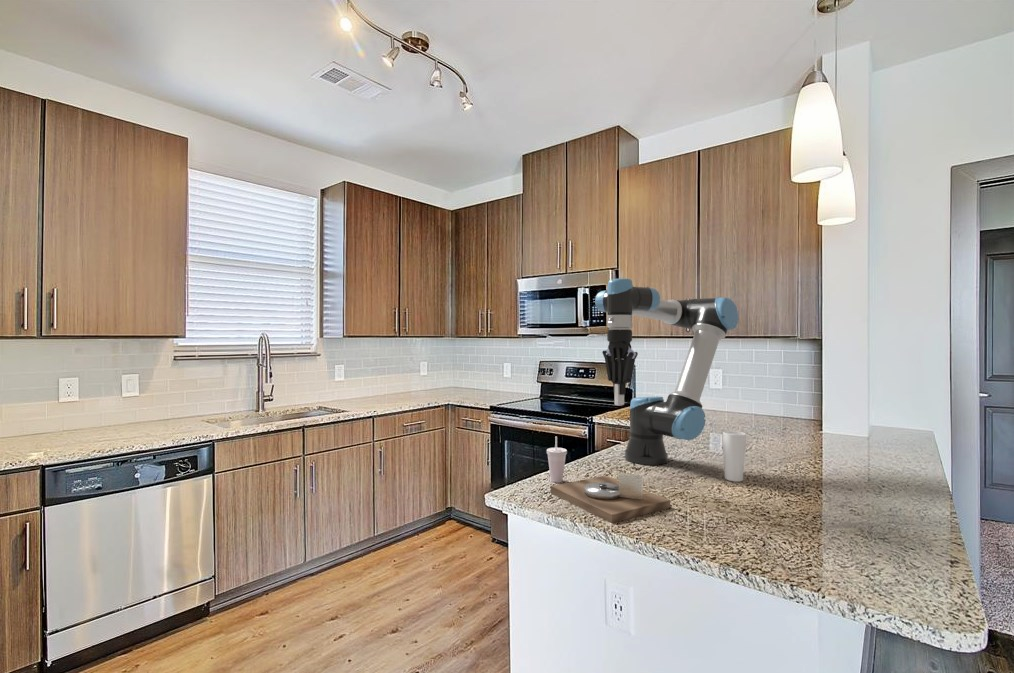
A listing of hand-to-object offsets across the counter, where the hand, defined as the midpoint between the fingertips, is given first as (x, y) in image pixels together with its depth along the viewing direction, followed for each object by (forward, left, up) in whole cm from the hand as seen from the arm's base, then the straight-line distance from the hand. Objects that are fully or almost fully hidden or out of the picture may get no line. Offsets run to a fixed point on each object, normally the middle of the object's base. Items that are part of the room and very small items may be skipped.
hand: (619, 404), depth 149 cm
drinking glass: (-34, +17, -24) cm, 45 cm away
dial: (+14, +13, -22) cm, 29 cm away
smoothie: (+16, -10, -24) cm, 31 cm away
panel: (+14, +11, -24) cm, 30 cm away
